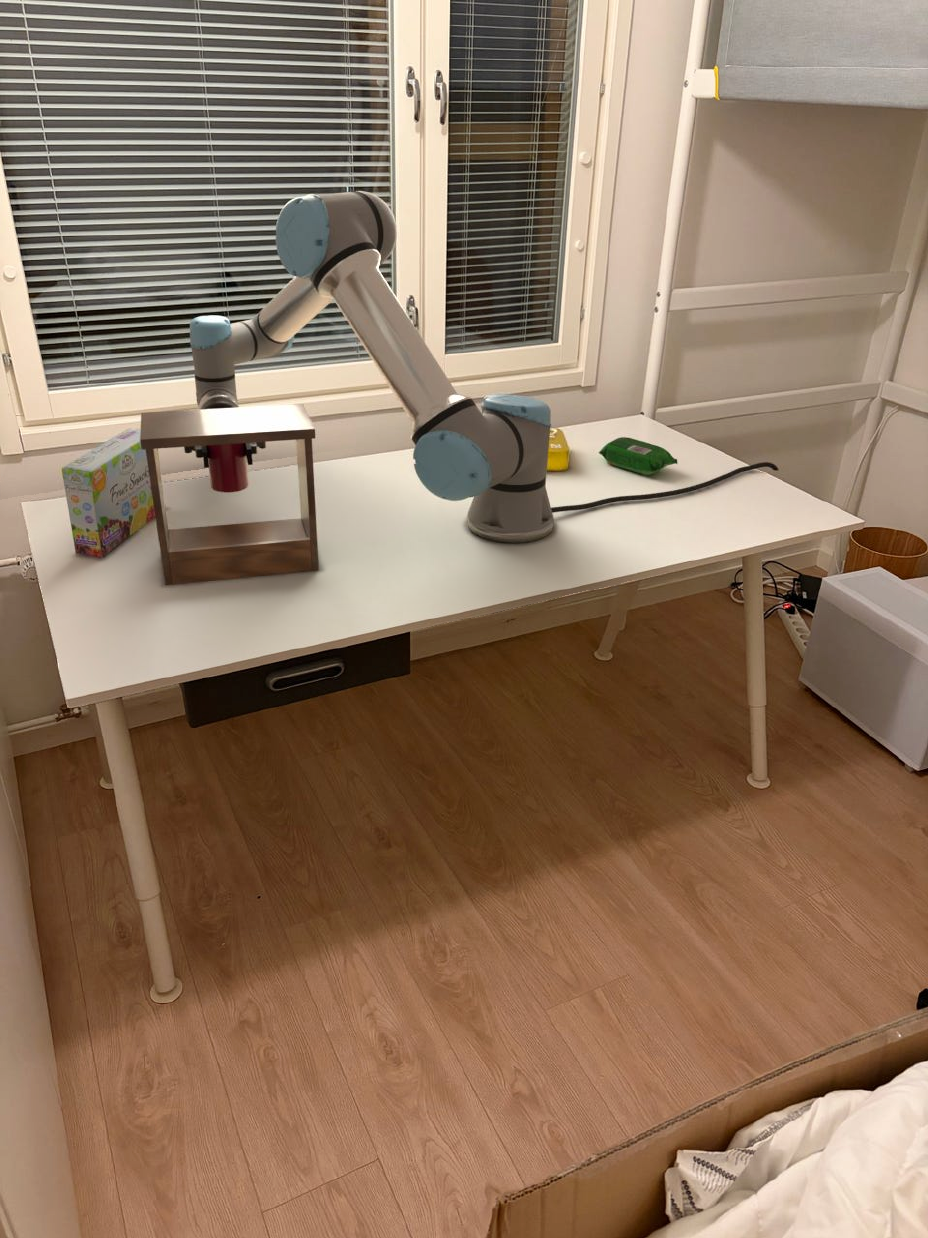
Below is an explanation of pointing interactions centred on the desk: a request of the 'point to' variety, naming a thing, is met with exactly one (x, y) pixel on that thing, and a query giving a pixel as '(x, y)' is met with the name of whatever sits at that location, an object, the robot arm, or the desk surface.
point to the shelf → (245, 543)
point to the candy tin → (227, 467)
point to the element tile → (557, 451)
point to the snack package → (636, 455)
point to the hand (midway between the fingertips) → (227, 458)
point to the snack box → (108, 494)
